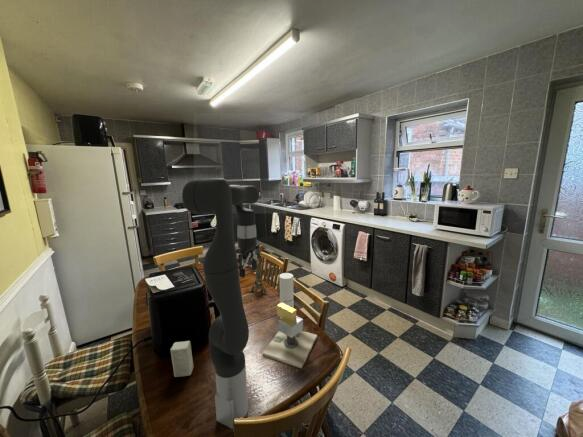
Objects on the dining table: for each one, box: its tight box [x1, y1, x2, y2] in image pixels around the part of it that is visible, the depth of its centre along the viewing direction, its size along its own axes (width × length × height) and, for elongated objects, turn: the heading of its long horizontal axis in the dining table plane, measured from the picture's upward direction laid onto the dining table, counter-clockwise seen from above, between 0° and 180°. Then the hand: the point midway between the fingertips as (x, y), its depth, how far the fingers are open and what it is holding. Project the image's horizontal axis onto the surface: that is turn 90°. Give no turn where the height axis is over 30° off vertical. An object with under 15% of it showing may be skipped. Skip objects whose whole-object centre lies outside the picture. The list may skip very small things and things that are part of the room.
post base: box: [262, 330, 318, 369], centre depth 105 cm, size 20×18×11 cm
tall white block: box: [278, 272, 295, 320], centre depth 123 cm, size 7×7×25 cm
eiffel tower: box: [249, 260, 268, 298], centre depth 153 cm, size 11×11×25 cm
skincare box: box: [169, 340, 194, 378], centre depth 91 cm, size 6×4×12 cm
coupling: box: [276, 302, 304, 338], centre depth 105 cm, size 11×8×10 cm
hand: (248, 273), depth 97 cm, fingers open, 8 cm apart
